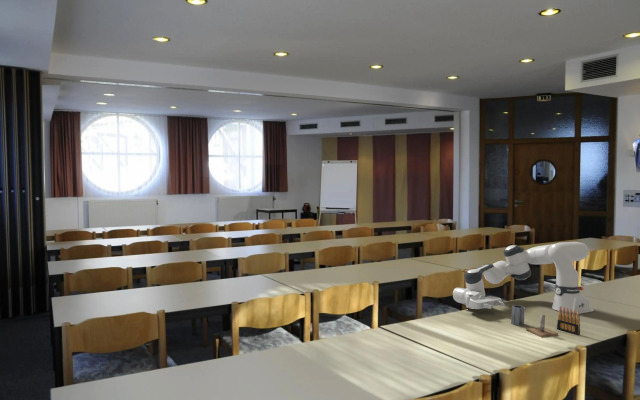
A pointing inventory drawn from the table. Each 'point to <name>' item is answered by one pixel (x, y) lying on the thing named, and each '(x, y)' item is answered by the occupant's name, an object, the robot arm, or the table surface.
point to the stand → (542, 329)
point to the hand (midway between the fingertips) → (497, 306)
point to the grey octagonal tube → (517, 315)
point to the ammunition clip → (568, 321)
